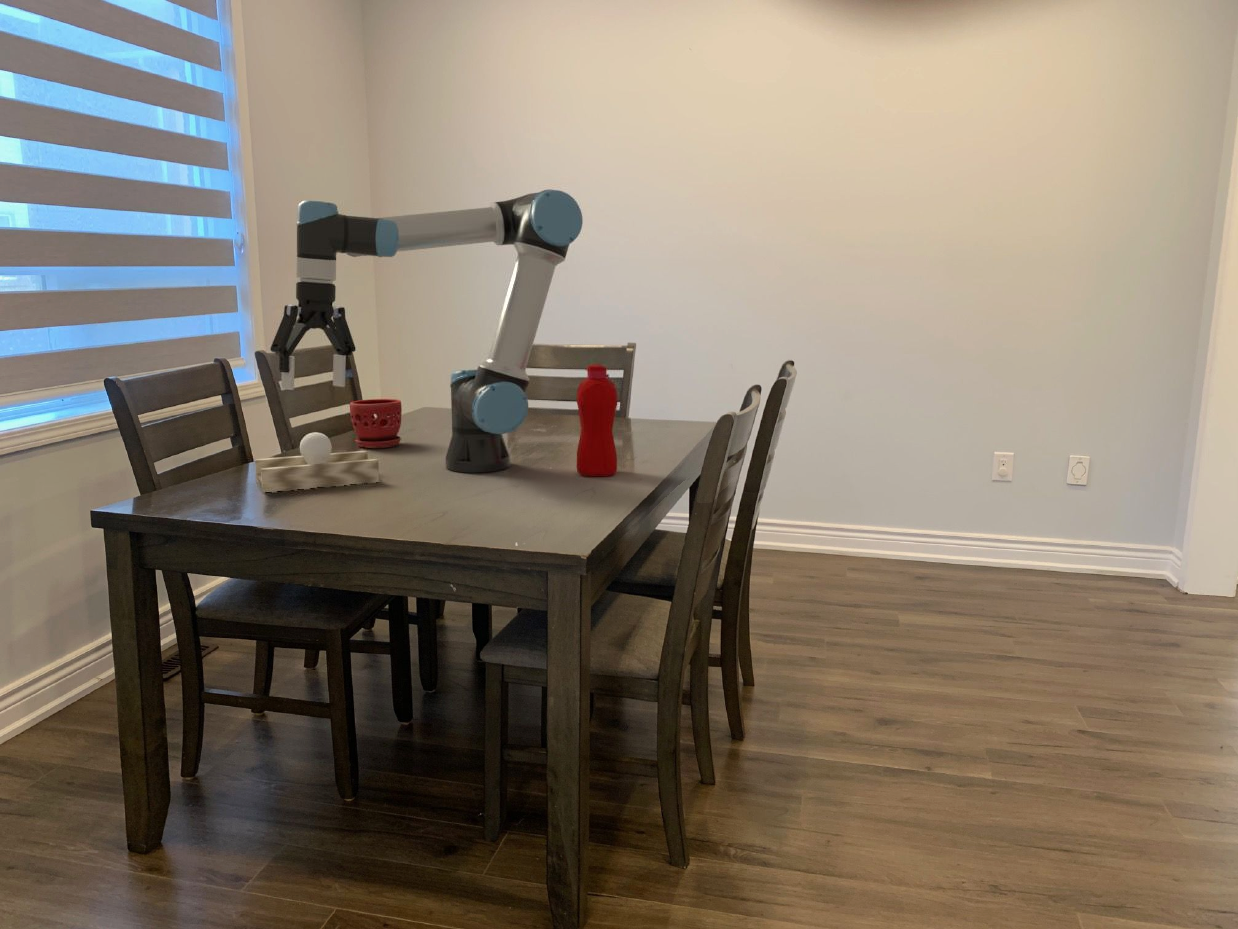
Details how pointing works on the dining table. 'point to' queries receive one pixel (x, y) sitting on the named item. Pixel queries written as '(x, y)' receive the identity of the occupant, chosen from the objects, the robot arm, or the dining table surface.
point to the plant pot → (376, 422)
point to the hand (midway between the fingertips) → (314, 387)
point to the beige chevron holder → (315, 472)
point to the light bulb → (315, 448)
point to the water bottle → (597, 423)
